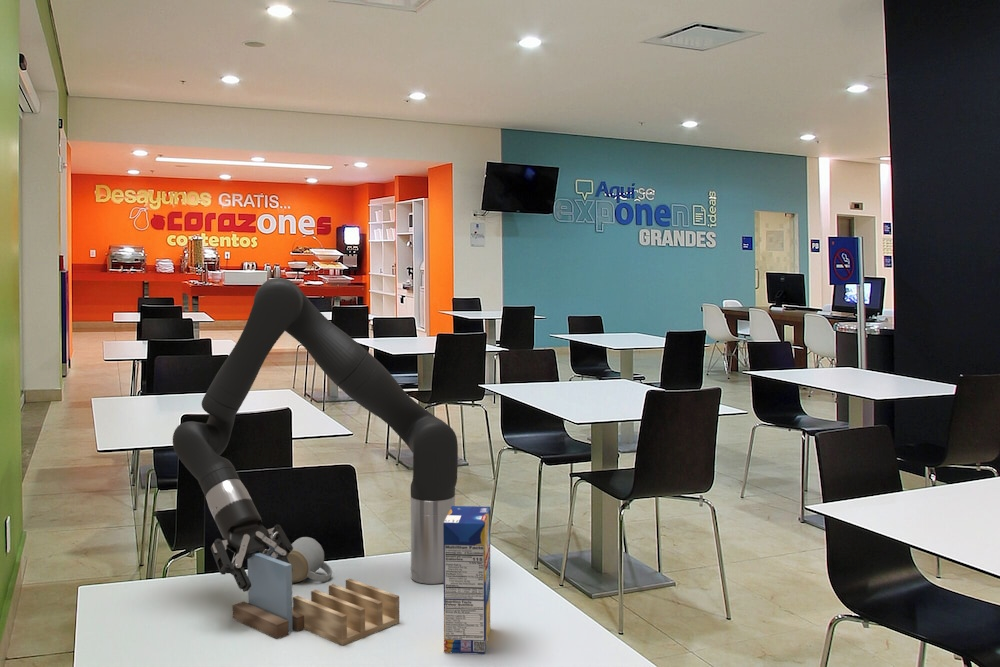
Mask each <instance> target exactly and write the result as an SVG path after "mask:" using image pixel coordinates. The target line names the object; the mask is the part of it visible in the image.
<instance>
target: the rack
mask: <svg viewBox="0 0 1000 667" xmlns="http://www.w3.org/2000/svg"><path fill="white" fill-rule="evenodd" d="M310 596H311V597H310V598H311V599H307V598H305V597H302V596H299V595H296V596H292V607H293V611H295V612H297V613H300V614H302V615H304V629H303V630H305V631H308V632H310V633H312V634H315V635H317V636H319V637H321V638H324V639H326V640H329V641H330V642H333V643H335V644H338V645H340V646H342V647H343V646H345V645H348V644H350V643H354V642H356V641H359V640H361V639H363V638H365V637H368V636H370V634H371V635H373V634H375V632H376V633H377V631H378V632H381V631H383V630H385V629H384V628H386V627H388V628H390V627H389V626H391V625H393V626H395V625H394V624H396V625H398V624H400V595H397V594H394V593H392V592H389V591H386V590H384V589H380V588H378V587H375V586H372V585H370V584H367V583H363V582H361V581H358V580H355V579H352V578H347V579H345V587H342V586H339V585H336V584H334V583H332V584H329V585H328V593H325V592H322V591H320V590H317V589H314V590H311V591H310ZM397 623H398V624H397ZM391 627H392V626H391ZM382 629H383V630H382ZM386 629H387V628H386ZM380 630H381V631H380ZM372 633H373V634H372Z"/></svg>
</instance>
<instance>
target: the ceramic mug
mask: <svg viewBox="0 0 1000 667" xmlns="http://www.w3.org/2000/svg"><path fill="white" fill-rule="evenodd" d="M291 545H292V546H293V550H292V551H291V552H290V553H289V555H288V556H287V559H288V561H289V563H290V564H292V570H293V571H292V584H293V583H299V582H302V581H304V580H306V579H307V578H308V579H310V580H312V581H314V582H318V583H323V582H324V583H325V582H328V581H329V580H330V579H331V578H332V575H333V570H332V569H333V568H332V567H331V566H330V565H329V563H327V562H325V551H324V549H323V546H322V545H321V544H320V543H319V542H318V541H317V540H316V539H315V538H312V537H309V536H302V537H299V538H297V539H296V540H294V542H292V543H291ZM319 569H321V570H323V571H324V572H325V573H326V575H325V574H324V575H323V574H318V573H317V571H319Z"/></svg>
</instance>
